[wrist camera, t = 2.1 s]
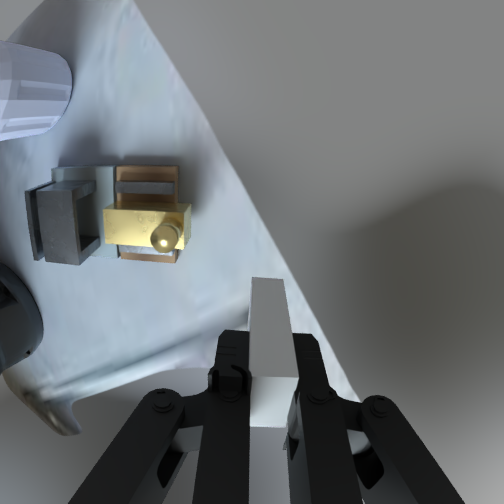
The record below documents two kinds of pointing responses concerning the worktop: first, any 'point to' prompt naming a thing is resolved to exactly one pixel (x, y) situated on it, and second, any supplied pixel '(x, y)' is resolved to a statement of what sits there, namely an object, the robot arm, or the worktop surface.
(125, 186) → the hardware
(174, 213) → the bolt
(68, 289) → the worktop surface
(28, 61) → the soap bottle
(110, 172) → the panel
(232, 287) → the worktop surface
